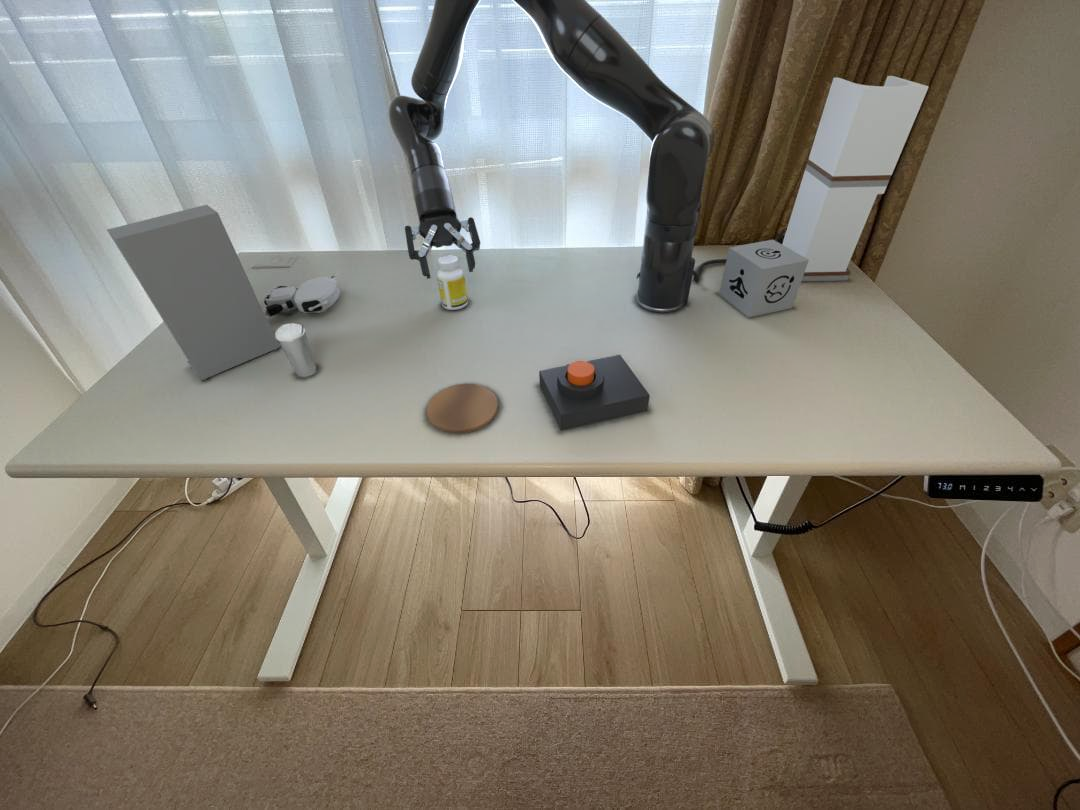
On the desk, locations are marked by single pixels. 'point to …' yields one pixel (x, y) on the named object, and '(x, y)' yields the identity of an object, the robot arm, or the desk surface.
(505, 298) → the desk surface
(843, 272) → the white striped pillar
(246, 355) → the tall grey upright panel
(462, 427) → the coaster
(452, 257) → the supplement bottle
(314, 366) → the milkshake
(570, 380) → the orange button
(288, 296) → the robot toy
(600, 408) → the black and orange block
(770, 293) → the icon cube
